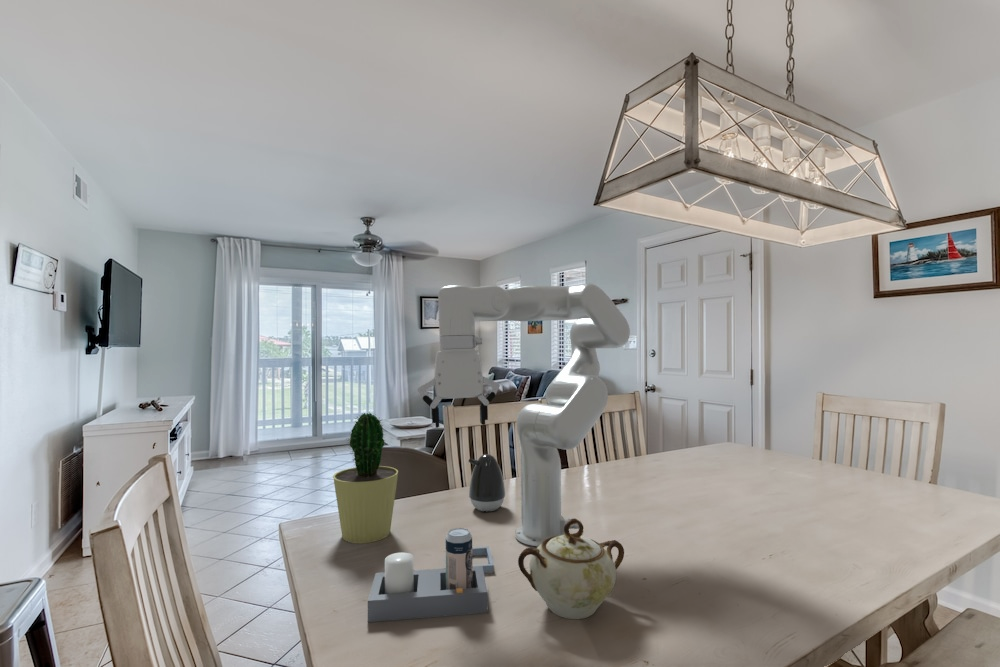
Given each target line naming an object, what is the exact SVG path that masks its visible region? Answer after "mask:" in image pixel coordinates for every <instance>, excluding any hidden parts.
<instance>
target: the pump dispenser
mask: <svg viewBox="0 0 1000 667" xmlns="http://www.w3.org/2000/svg"><path fill="white" fill-rule="evenodd" d="M468 462H469V463H470V464H472V465H474V467H473V469H472V473H471V477H470V481H469V490H468V497H469V499H470V502H471V504H472V506H473V507H474V508H475V509H476V510H478V511H480V512H484V511H486V512H488V511H490V512H494V511H496V510H498V509H499V508H500V507H501V506H502V505H503V502H504V499H505V497H506V488H505V481H504V476H503V473H502V469H501V468H500V465H499V463H498V461H497V459H496V458H495V457H494V456H493V455H492V454H489V453H487V454H486V453H484V454H482V455H481V456H479V458H478V459H473V458H469V459H468ZM486 512H485V513H486ZM488 513H489V512H488Z"/></svg>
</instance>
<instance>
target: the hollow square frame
mask: <svg viewBox="0 0 1000 667" xmlns="http://www.w3.org/2000/svg"><path fill="white" fill-rule="evenodd" d="M473 556H486V558H487V559H486V560H487V563H488V564H472V567H473V566H483V571H484V574H493V573H494V562H493V557H492V554H491V550H490V547H489V546H478V547H477V546H476V547H472V557H473Z"/></svg>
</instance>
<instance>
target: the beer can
mask: <svg viewBox="0 0 1000 667" xmlns="http://www.w3.org/2000/svg"><path fill="white" fill-rule="evenodd" d="M472 548H473V536H472V534H471V531H470V530H469V528H464V527H459V528H457V527H456V528H453V529H450V530H449V531H448V532H447V534H446V536H445V568H446V590H452V589H456V588H462V589H466V588H473V573H472V565H473V556H472Z"/></svg>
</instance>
